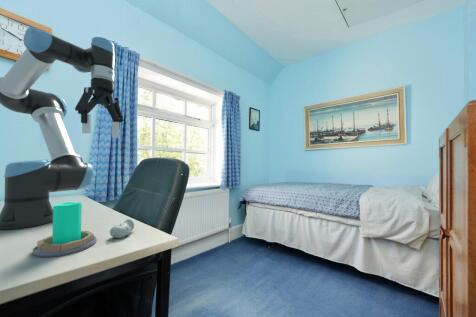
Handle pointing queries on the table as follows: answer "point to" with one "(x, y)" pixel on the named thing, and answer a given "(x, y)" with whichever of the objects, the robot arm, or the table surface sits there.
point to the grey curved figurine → (122, 229)
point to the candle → (66, 222)
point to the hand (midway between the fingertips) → (101, 135)
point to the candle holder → (63, 246)
